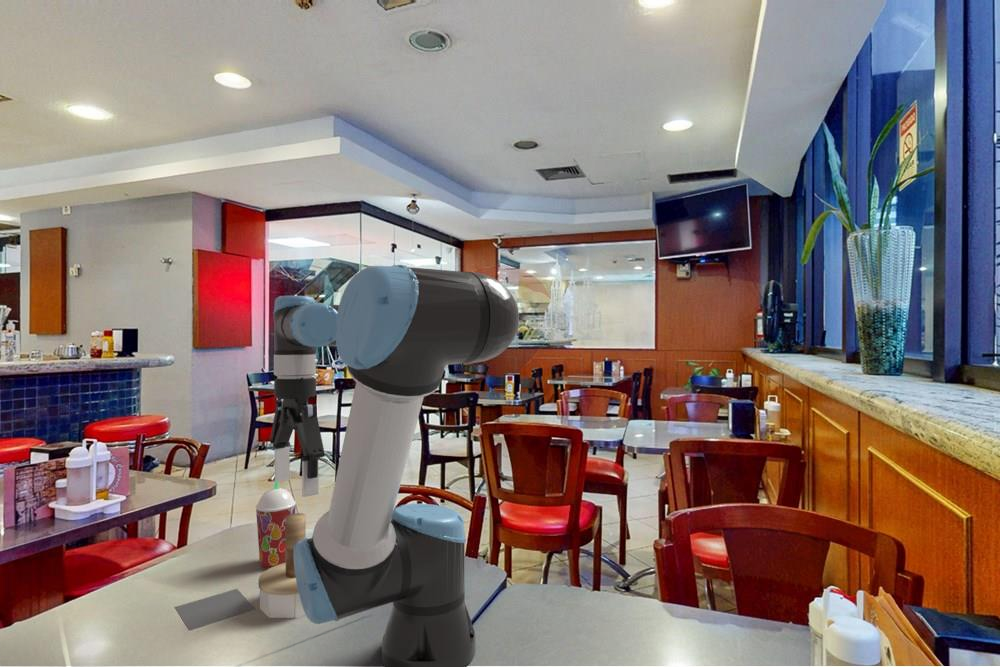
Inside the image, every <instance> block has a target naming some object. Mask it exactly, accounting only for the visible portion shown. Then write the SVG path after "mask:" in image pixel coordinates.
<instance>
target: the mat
mask: <svg viewBox="0 0 1000 667" xmlns="http://www.w3.org/2000/svg"><path fill="white" fill-rule="evenodd" d="M174 609H175V610H176V612H177V613H178V615H179V616H180V618H181V619H182V621H183V623H184V625H185V626H186V628H187V629H188V631H193V630H195V629H198V628H201V627H205V626H208V625H210V624H214V623H218V622H220V621H223V620H226V619H229V618H233V617H236V616H239V615H241V614H244V613H248V612H252V611H254V610H256V607H255V606H254V605H253V604H252V603H251V602H250V601H249V600H248V598H246V597H245V596H244V595H243V594H242V592H240V590H239V589H238V588H234V589H231V590H229V591H225V592H221V593H218V594H215V595H211V596H207V597H204V598H201V599H197V600H194V601H191V602H187V603H184V604H180V605H178V606H177V605H176V606H174Z"/></svg>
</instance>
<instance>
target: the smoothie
mask: <svg viewBox="0 0 1000 667" xmlns="http://www.w3.org/2000/svg"><path fill="white" fill-rule="evenodd" d="M278 484H279V482H277V483H276V482H275V481H274V488H273V487H272V488H271V489H269V490H267V491H266V492H264V493H263V494H262V495H261V497H260V498H259V500H258V502H257V504H256V505H255V510H256V511H255V512H256V513H255V514H256V527H257V542H258V556H259V557H258V558H259V563H260V565H261V566H262V568H265V569H269V568H271V567H274V566H276V565H279V564H282V563H286V516H287V515H290V514H294V513H296V504H297V501H296V500H295V498H294V497H293V495H292V494H291V492H290V491H289V490H287V489H285V488H281V487H279V486H278Z"/></svg>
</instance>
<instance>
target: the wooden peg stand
mask: <svg viewBox="0 0 1000 667" xmlns="http://www.w3.org/2000/svg"><path fill="white" fill-rule="evenodd" d="M306 520H307V519H306V513H303V512H295V513H294V514H290V515H287V516H286V563H282V564H279V565H276V566H274V567H271V568H267V569H266V570H265V571H263V572H262V573H261V574H260V575H259V577H258V588H259V591H260V590H262V591H263V592H265V593H268V594H273V595H292V594H298V593H299V592H298V587H297V582H296V576H295V569H294V557H293V554H294V546H295V544H296V543H297V542H298V541H301V540H303V539H304V538H307V537H306V536H307V535H306V534H307V533H306V532H307V531H306V530H307V527H306V526H307V525H306V524H307V523H306V522H307V521H306Z"/></svg>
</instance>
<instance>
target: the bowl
mask: <svg viewBox="0 0 1000 667" xmlns="http://www.w3.org/2000/svg"><path fill="white" fill-rule="evenodd" d="M259 609H260V610H261V611H262V612H263V613H264V614H265V616H267V618H269V619H270V618H271V619H296V618H297V619H298V618H301V617H303V616H306V614H305V612H304V609H303V606H302V603H301V600H300V596H299V593H298V594H292V595H273V594H268V593H265V592H263V591H262V590H260V589H259Z"/></svg>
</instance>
